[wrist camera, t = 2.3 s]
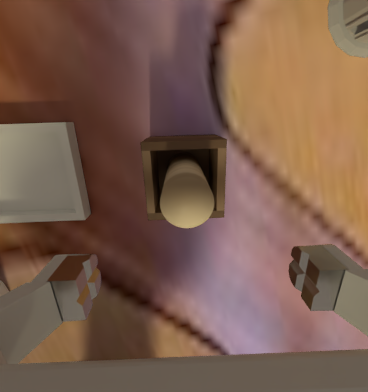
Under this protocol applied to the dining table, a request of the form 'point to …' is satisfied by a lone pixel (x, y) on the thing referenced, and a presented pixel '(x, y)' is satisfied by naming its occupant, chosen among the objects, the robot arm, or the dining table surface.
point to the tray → (41, 174)
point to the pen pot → (192, 144)
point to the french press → (349, 25)
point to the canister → (3, 288)
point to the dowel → (186, 193)
